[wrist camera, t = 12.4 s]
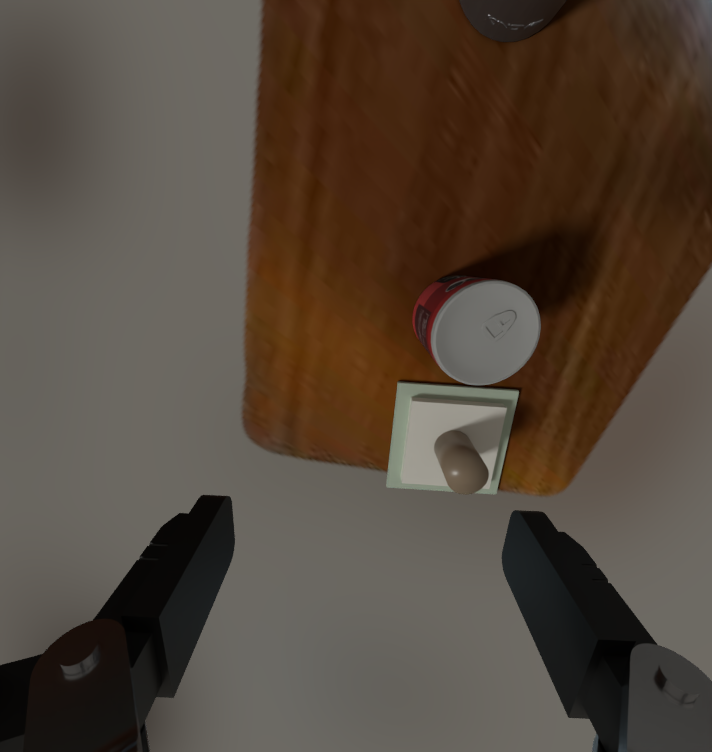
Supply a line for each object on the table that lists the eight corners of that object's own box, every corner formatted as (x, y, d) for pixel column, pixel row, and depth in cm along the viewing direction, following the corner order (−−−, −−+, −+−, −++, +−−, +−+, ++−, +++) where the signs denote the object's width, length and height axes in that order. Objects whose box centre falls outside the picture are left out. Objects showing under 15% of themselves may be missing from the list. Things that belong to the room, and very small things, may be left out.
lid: (410, 397, 38) (421, 424, 32) (502, 403, 38) (531, 432, 32) (400, 477, 41) (408, 517, 35) (485, 482, 41) (509, 523, 35)
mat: (397, 381, 38) (398, 382, 38) (517, 389, 38) (519, 391, 38) (386, 484, 42) (386, 487, 42) (494, 491, 42) (496, 494, 42)
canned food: (504, 301, 36) (564, 317, 25) (456, 365, 38) (493, 405, 27) (442, 258, 34) (479, 256, 24) (396, 327, 37) (411, 353, 26)
